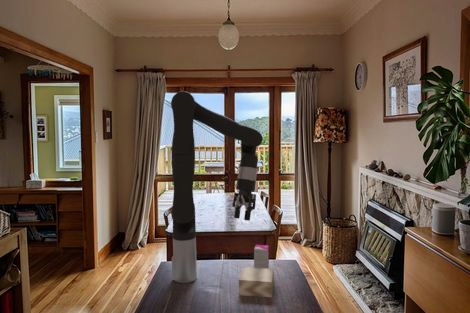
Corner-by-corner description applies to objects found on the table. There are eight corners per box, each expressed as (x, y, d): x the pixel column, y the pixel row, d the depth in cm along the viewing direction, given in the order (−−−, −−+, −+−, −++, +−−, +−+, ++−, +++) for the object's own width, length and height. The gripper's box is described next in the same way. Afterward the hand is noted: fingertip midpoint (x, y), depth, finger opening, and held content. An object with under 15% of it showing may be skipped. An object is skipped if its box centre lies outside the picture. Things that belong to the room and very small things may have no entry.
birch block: (238, 295, 126) (238, 279, 126) (243, 281, 138) (243, 267, 137) (271, 298, 124) (271, 281, 123) (273, 283, 136) (273, 268, 135)
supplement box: (267, 276, 141) (267, 249, 140) (253, 275, 142) (253, 248, 141) (269, 271, 147) (269, 244, 146) (255, 270, 148) (255, 244, 147)
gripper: (230, 177, 144) (225, 216, 142) (247, 177, 132) (242, 220, 129) (246, 180, 148) (241, 218, 145) (264, 180, 135) (258, 222, 133)
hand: (241, 219), depth 137 cm, fingers open, 8 cm apart
